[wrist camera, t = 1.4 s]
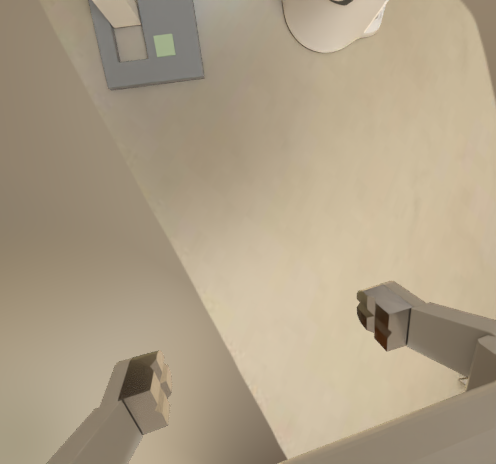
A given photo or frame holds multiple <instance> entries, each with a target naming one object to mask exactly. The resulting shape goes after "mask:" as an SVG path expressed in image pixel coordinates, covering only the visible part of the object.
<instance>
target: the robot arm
mask: <svg viewBox="0 0 496 464" xmlns="http://www.w3.org/2000/svg"><path fill="white" fill-rule="evenodd" d="M282 2H283V8H284V14H285V19H286V22H287V25H288V27H289V29H290V31H291V32H292V34H293V35H294V37H295V38H296V39H297V40H298V41H299V42H300V43H301V44H302V45H304V46H305V47H307V48H308V49H311V50H313V51H317V52H323V53H328V52H335V51H338V50H341V49H343V48H345V47H346V46H348V45H349V44H351V43H352V42H354V41H355V40H357V39H359V38H364V37H368V36H372V35H374V34H375V33H376V32H377V30H378V29H379V27H380V25H381V21H382V17H383V14H384V10H385V6H386V3H387V2H388V0H282ZM375 18H376V19H375ZM357 300H358V301H359V302H360V303H359V305H358V306H357V315H358V318H359V320H360V322H361V324H362V325H363V326H364V327H365V329H366V330H368V331H371V332H373V333H374V338H375V339H376V340H377V342H378V343H379V344H380V345H381V346H382V347H383V348H384V349H385V350H386V351H390V350H393V349H397V348H400V347H403V346H407V347H409V348H411V349H413V350H415V351H417V352H419V353H421V354H423V355H425V356H427V357H428V358H430V359H432V360H434V361H436V362H438V363H440V364H442V365H444V366H446V367H448V368H450V369H452V370H454V371H456V372H458V373H460V374H462V375H464V376H466V377H468V379H467V383H466V387H465V392H464V393H461V394H459V395H456V396H454V397H451V398H448V399H446V400H443V401H440V402H438V403H435V404H433V405H430V406H427V407H425V408H422V409H419V410H417V411H414V412H412V413H409V414H406V415H404V416H401V417H398V418H396V419H393V420H391V421H388V422H385V423H383V424H380V425H377V426H375V427H372V428H369V429H367V430H364V431H362V432H359V433H356V434H354V435H351V436H348V437H346V438H343V439H341V440H338V441H335V442H333V443H330V444H327V445H325V446H322V447H320V448H317V449H314V450H312V451H309V452H307V453H304V454H301V455H299V456H296V457H293V458H291V459H288V460H286V461H283V462H281V463H278V464H496V320H494V319H490V318H486V317H483V316H479V315H475V314H471V313H468V312H464V311H460V310H457V309H453V308H449V307H446V306H442V305H438V304H435V303H431V302H429V303H425V302H424V301H422V300H421V299H420V298H418V297H417V296H415V295H414V294H412V293H411V292H409V291H408V290H406V289H405V288H403V287H402V286H400V285H399V284H397V283H396V282H394V281H388V282H385V283H382V284H380V285H376V286H373V287H369V288H366V289H363V290H360V291H358V293H357ZM171 393H172V376H171V372H170V369H169V366H168V365H166V364H164V355H163V353H162V351H155V352H151V353H147V354H144V355H140V356H136V357H133V358H130V359H127V360H123V361H119V362H118V363H117V364H116V365H115V367H114V370H113V372H112V375H111V378H110V381H109V383H108V386H107V389H106V391H105V394H104V397H103V399H102V402H101V405H100V407H99V408H96V409H94V411H92V413H91V414H90V415H89V416H88V417H87V418H86V419H85V421H84V422H83V423H82V424H81V425H80V426H79V427H78V428H77V429H76V431H75V432H74V433H73V434H72V435H71V436H70V437H69V438H68V440H67V441H66V442H65V443H64V444H63V445H62V446H61V448H59V450H58V451H57V452H56V453H55V454H54V455H53V456H52V458H51V459H50V460H49V461H48V462H47V463H46V464H128V463H129V461H130V459H131V457H132V456H133V454H134V452H135V450H136V448H137V446H138V445H139V443H140V441H141V439H142V437H143V436H142V435H144V434H147V433H149V432H152V431H155V430H158V429H160V428H163V427H166V426H168V422H169V413H170V404H169V401H168V397H169V396H170V394H171Z"/></svg>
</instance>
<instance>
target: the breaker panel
mask: <svg viewBox="0 0 496 464" xmlns="http://www.w3.org/2000/svg"><path fill="white" fill-rule="evenodd" d="M88 1H89V6H90V10H91V15H92V19H93V23H94V28H95V32H96V37H97V41H98V46H99V50H100V54H101V59H102V63H103V68H104V72H105V77H106V81H107V85H108V88H109V89H110V90H119V89H126V88H134V87H142V86H149V85H157V84H165V83H173V82H180V81H188V80H196V79H203V78H204V71H203V65H202V58H201V51H200V45H199V38H198V31H197V25H196V18H195V11H194V5H193V0H137V1H138V6H139V12H140V17H141V22H142V27H143V33H144V38H145V43H146V48H147V54H148V59H142V60H135V61H127V62H120V58H119V54H118V49H117V44H116V39H115V35H114V30H113V26H112V25H111V23H110V22H109V21H108V20H107V18H106V17H105V16H104V15H103V13H102V12H101V11H100V10H99V8H98V7H97V6H96V5H95V3H94V2H93V1H92V0H88Z"/></svg>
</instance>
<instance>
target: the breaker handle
mask: <svg viewBox="0 0 496 464" xmlns="http://www.w3.org/2000/svg"><path fill="white" fill-rule="evenodd" d="M92 1H93V2H94V3H95V5H96V6H97V7H98V8H99V10H100V11H101V12H102V13H103V15H104V16H105V17H106V18H107V20H108V21H109V22H110V23H111V25H112V26H113V27H114V28H119V27H127V26H134V25H141V20H140V15H139V10H138V6H137V5H136V3H135V1H134V0H92Z"/></svg>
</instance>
